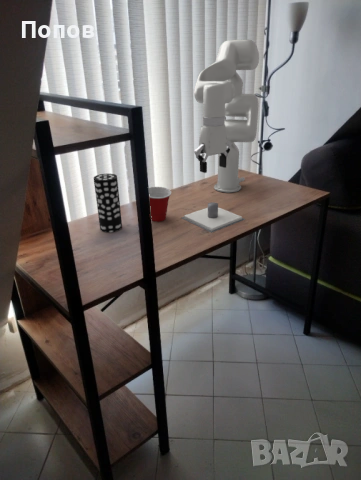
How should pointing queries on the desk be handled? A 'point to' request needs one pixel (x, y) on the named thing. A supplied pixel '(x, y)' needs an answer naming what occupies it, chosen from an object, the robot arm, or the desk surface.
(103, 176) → the white-spotted black cylinder
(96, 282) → the desk surface
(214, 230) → the mat
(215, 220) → the lid
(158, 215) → the plastic cup
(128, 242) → the desk surface
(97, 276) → the desk surface
